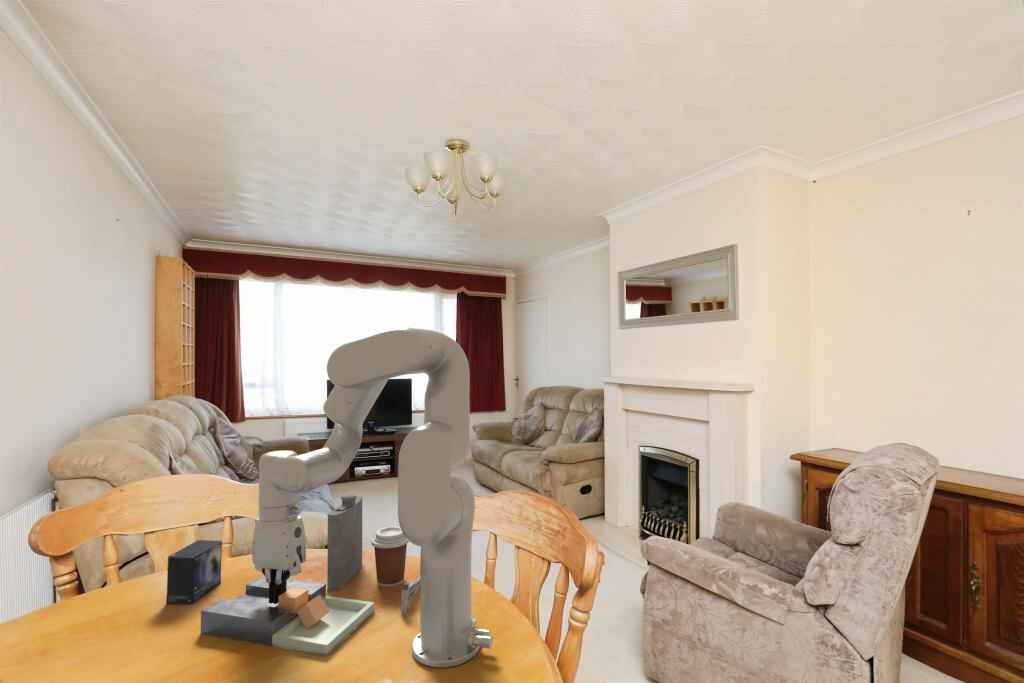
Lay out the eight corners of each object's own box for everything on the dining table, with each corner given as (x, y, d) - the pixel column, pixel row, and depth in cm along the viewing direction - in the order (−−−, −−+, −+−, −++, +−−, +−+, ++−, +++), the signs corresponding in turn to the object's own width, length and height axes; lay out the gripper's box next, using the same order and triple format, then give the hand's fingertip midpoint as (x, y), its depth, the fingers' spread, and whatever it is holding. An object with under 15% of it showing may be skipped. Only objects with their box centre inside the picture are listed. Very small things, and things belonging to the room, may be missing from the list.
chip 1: (308, 604, 102) (308, 589, 102) (295, 613, 98) (295, 598, 98) (291, 601, 103) (292, 587, 103) (278, 611, 99) (278, 596, 99)
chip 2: (320, 618, 101) (330, 611, 100) (306, 629, 97) (316, 621, 96) (310, 601, 102) (319, 594, 101) (296, 611, 98) (306, 603, 97)
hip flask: (352, 562, 130) (352, 486, 131) (367, 562, 130) (367, 486, 131) (325, 590, 114) (325, 504, 115) (341, 591, 114) (342, 504, 115)
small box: (193, 605, 108) (194, 557, 108) (164, 605, 108) (165, 557, 109) (223, 583, 119) (223, 539, 119) (196, 583, 119) (197, 539, 119)
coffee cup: (363, 587, 116) (363, 536, 116) (382, 571, 124) (382, 523, 125) (399, 591, 113) (399, 539, 114) (415, 574, 122) (415, 526, 123)
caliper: (406, 617, 103) (406, 587, 103) (401, 617, 103) (401, 587, 103) (429, 574, 123) (429, 549, 123) (425, 574, 123) (425, 549, 123)
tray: (374, 612, 104) (374, 602, 104) (327, 656, 89) (327, 645, 89) (325, 604, 108) (325, 595, 108) (272, 646, 92) (272, 635, 92)
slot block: (325, 604, 108) (325, 584, 108) (272, 646, 92) (272, 622, 92) (262, 595, 112) (262, 575, 112) (200, 633, 97) (200, 610, 97)
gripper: (320, 508, 104) (320, 596, 103) (262, 503, 108) (261, 588, 107) (296, 520, 97) (295, 614, 96) (235, 514, 100) (233, 604, 100)
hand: (277, 600), depth 102 cm, fingers closed
